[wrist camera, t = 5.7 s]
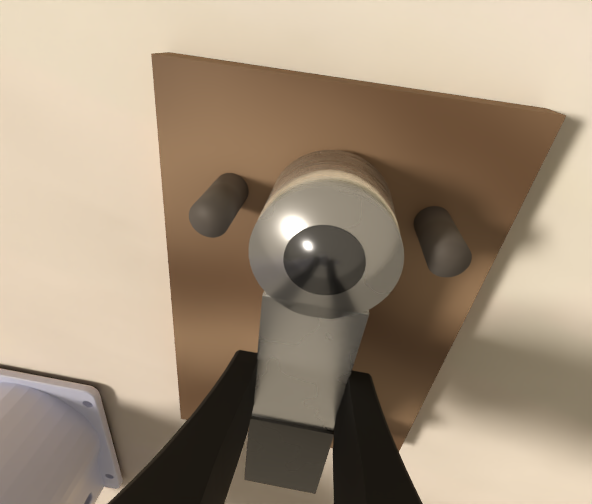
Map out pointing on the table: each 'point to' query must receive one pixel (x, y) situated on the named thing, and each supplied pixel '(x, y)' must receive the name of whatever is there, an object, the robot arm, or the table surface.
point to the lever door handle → (315, 305)
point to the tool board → (360, 141)
